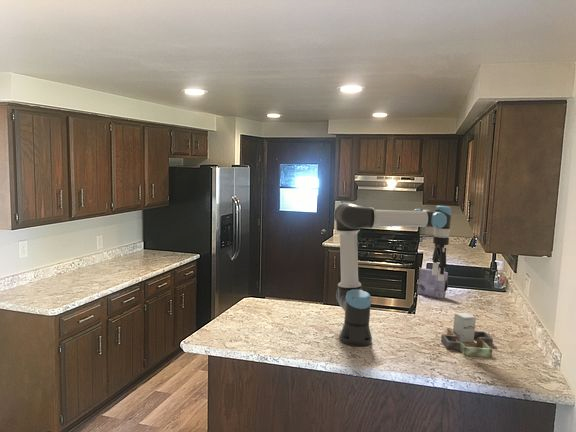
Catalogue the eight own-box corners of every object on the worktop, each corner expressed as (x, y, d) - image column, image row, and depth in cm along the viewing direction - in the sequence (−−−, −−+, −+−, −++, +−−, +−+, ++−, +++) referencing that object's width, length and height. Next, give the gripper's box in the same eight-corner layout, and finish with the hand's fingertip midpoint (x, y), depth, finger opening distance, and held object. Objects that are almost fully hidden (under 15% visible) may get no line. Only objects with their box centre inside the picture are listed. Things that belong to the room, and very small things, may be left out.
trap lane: (450, 354, 217) (451, 346, 216) (435, 334, 244) (435, 327, 243) (504, 357, 215) (505, 350, 215) (483, 337, 243) (484, 330, 242)
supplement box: (461, 342, 233) (463, 317, 231) (452, 337, 240) (454, 312, 239) (474, 342, 235) (476, 316, 233) (464, 336, 242) (466, 312, 241)
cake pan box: (447, 297, 320) (449, 271, 319) (445, 299, 316) (447, 272, 315) (418, 292, 331) (420, 267, 329) (416, 294, 326) (418, 268, 325)
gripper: (455, 240, 230) (451, 283, 232) (443, 233, 255) (439, 273, 257) (439, 239, 231) (435, 282, 233) (428, 233, 255) (425, 272, 257)
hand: (437, 277), depth 245 cm, fingers open, 13 cm apart
